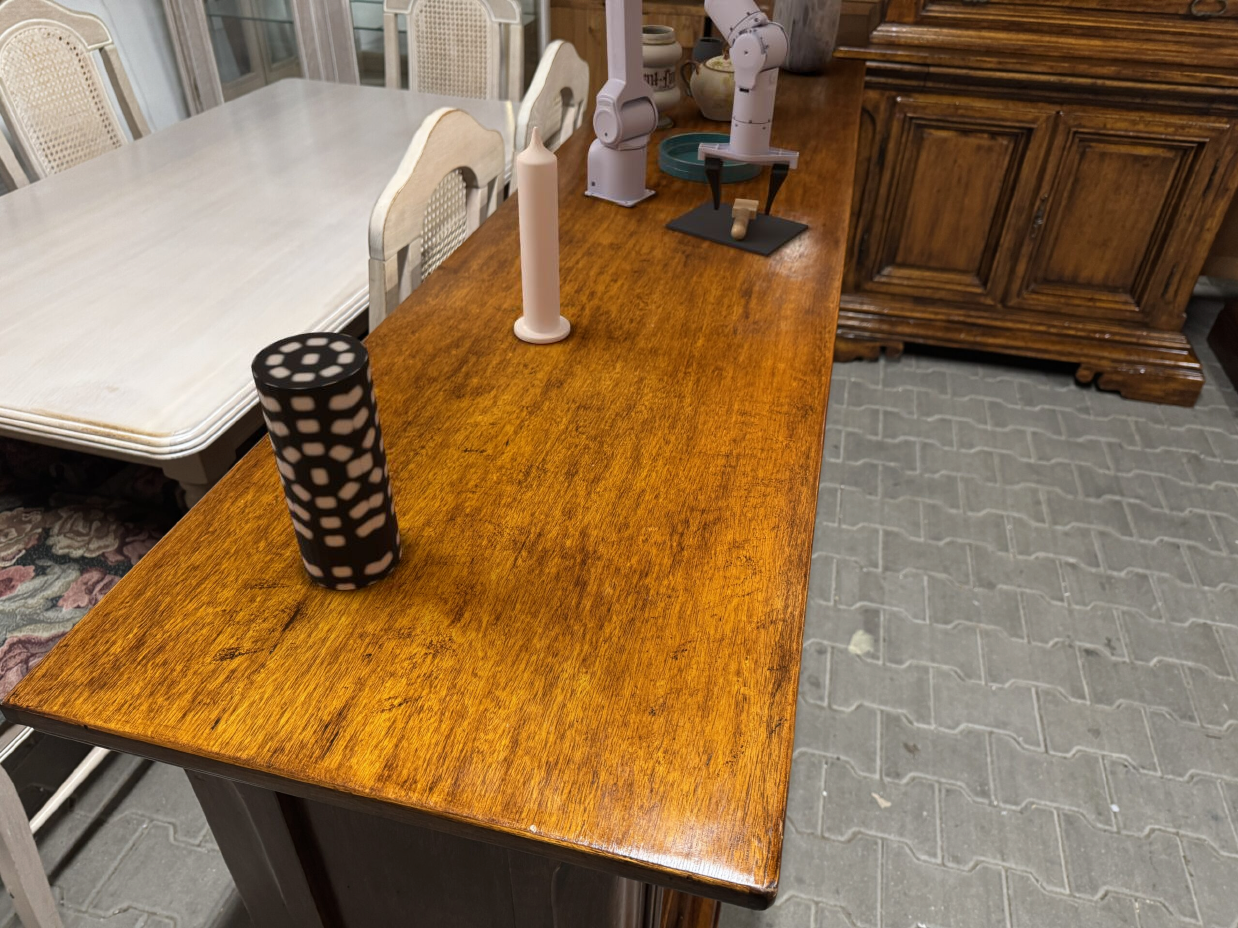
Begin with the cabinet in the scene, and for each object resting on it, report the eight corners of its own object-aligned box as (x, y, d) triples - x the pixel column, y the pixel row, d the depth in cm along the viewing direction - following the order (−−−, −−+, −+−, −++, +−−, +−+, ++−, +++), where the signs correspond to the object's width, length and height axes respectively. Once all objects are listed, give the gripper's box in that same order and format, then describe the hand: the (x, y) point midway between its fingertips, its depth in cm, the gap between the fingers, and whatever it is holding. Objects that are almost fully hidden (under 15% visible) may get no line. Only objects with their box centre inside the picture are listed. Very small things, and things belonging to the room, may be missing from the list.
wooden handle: (734, 207, 144) (736, 194, 143) (757, 210, 144) (759, 197, 142) (724, 241, 133) (725, 227, 132) (749, 243, 133) (751, 229, 131)
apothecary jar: (612, 127, 180) (613, 31, 169) (633, 112, 189) (636, 20, 178) (667, 135, 176) (672, 38, 166) (686, 119, 185) (692, 26, 175)
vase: (815, 82, 213) (837, -60, 195) (756, 72, 220) (771, -67, 202) (840, 70, 224) (862, -67, 206) (782, 60, 231) (799, -72, 212)
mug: (724, 99, 199) (729, 45, 192) (684, 96, 200) (687, 43, 193) (728, 86, 208) (733, 34, 202) (690, 83, 210) (693, 32, 203)
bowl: (637, 170, 159) (638, 151, 157) (692, 144, 172) (694, 126, 170) (729, 194, 151) (731, 174, 149) (780, 165, 163) (783, 146, 161)
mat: (665, 227, 138) (665, 224, 138) (710, 202, 147) (710, 199, 147) (767, 257, 130) (767, 253, 130) (808, 228, 139) (808, 225, 139)
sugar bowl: (767, 108, 194) (776, 34, 185) (770, 128, 182) (780, 50, 173) (678, 104, 195) (683, 30, 186) (675, 123, 183) (680, 45, 174)
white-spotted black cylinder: (314, 526, 80) (265, 333, 68) (406, 523, 81) (375, 330, 69) (295, 592, 73) (238, 390, 61) (396, 587, 74) (359, 387, 62)
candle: (527, 349, 107) (517, 140, 92) (505, 324, 112) (493, 121, 97) (579, 337, 109) (579, 132, 94) (556, 313, 114) (552, 114, 99)
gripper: (804, 115, 127) (791, 206, 135) (705, 106, 129) (698, 196, 138) (802, 129, 122) (788, 223, 130) (698, 120, 124) (691, 212, 132)
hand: (741, 210), depth 133 cm, fingers open, 7 cm apart
